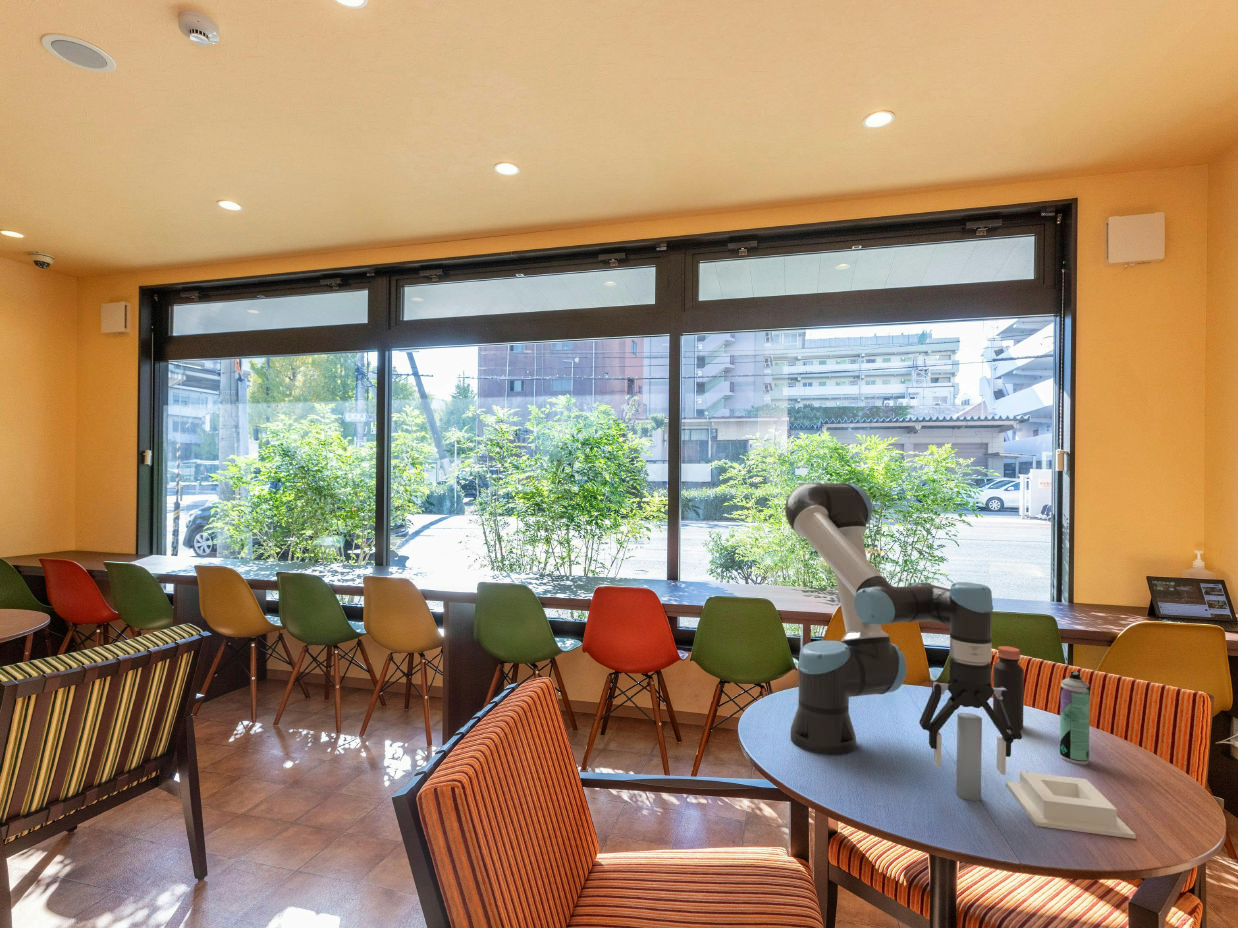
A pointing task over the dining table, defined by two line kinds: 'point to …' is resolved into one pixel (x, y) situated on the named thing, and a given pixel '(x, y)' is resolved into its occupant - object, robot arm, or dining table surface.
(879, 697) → the dining table surface
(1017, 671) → the bottle
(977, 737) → the peg
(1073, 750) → the spray can
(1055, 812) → the socket
